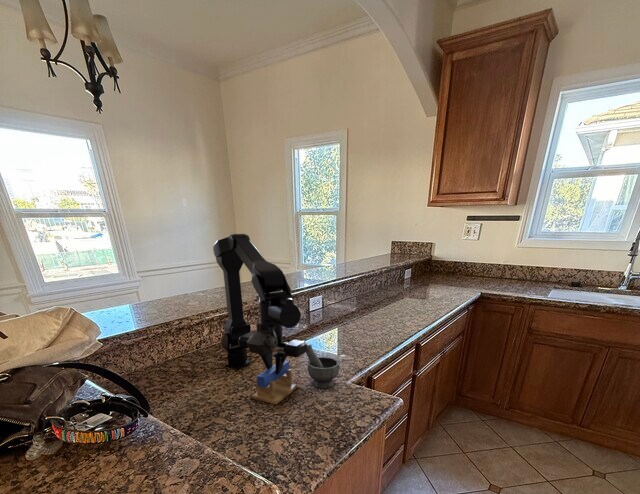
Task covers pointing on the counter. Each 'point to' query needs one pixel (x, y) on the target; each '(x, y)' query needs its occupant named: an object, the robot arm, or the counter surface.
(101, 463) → the counter surface
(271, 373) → the blue rectangular block
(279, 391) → the holder
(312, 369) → the mortar and pestle
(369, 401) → the counter surface
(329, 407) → the counter surface
